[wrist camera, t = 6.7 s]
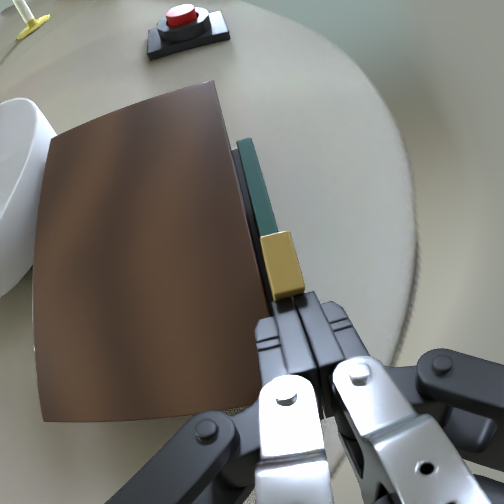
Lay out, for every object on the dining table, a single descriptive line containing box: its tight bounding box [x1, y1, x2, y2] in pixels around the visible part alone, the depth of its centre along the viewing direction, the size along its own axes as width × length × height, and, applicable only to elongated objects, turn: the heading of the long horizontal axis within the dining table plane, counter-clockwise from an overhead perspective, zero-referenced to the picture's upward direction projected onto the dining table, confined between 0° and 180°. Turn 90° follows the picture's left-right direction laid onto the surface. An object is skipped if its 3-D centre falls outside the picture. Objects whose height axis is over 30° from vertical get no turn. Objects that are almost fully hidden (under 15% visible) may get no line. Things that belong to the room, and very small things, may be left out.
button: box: [166, 4, 197, 27], centre depth 31 cm, size 4×4×2 cm
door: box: [236, 138, 305, 302], centre depth 16 cm, size 1×9×10 cm, turn 12°
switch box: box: [147, 8, 230, 60], centre depth 32 cm, size 10×7×3 cm
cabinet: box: [32, 80, 274, 422], centre depth 19 cm, size 14×18×8 cm
